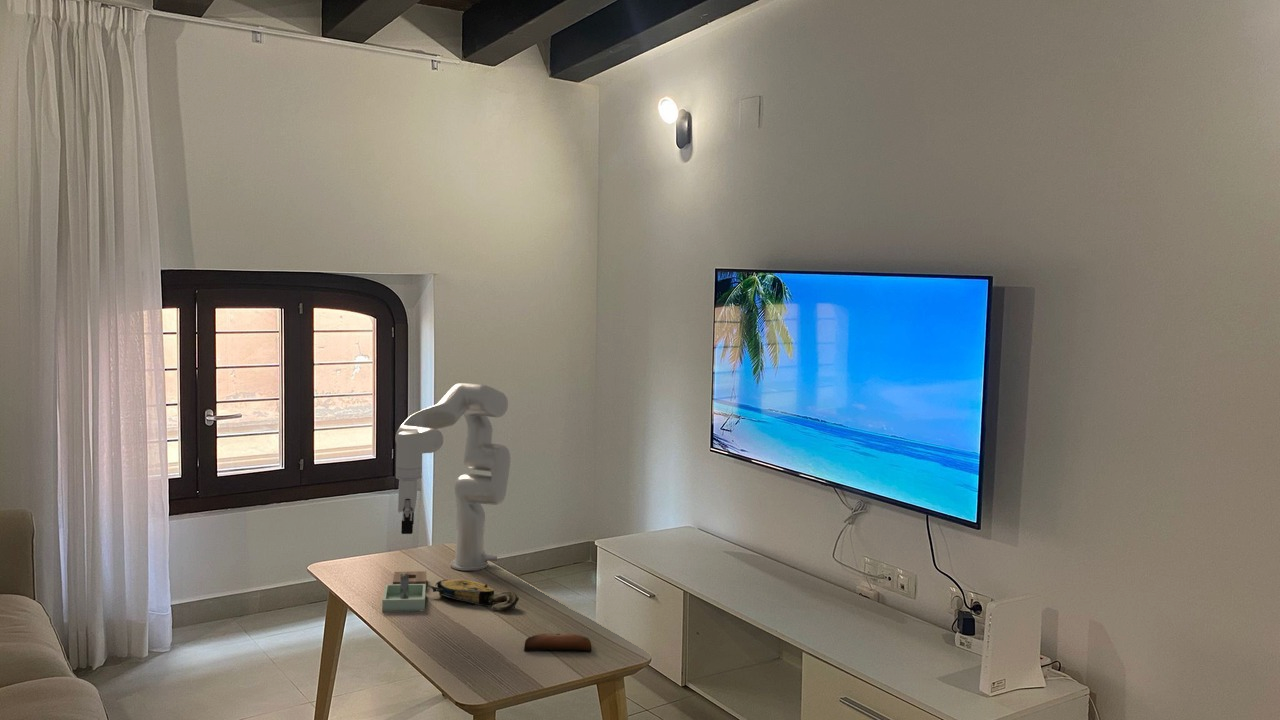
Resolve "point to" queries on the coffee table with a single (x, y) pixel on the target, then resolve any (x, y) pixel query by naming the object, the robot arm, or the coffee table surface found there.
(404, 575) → the pin
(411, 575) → the block
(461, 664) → the coffee table surface
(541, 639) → the sunglasses case
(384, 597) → the tray
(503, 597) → the pulley block
